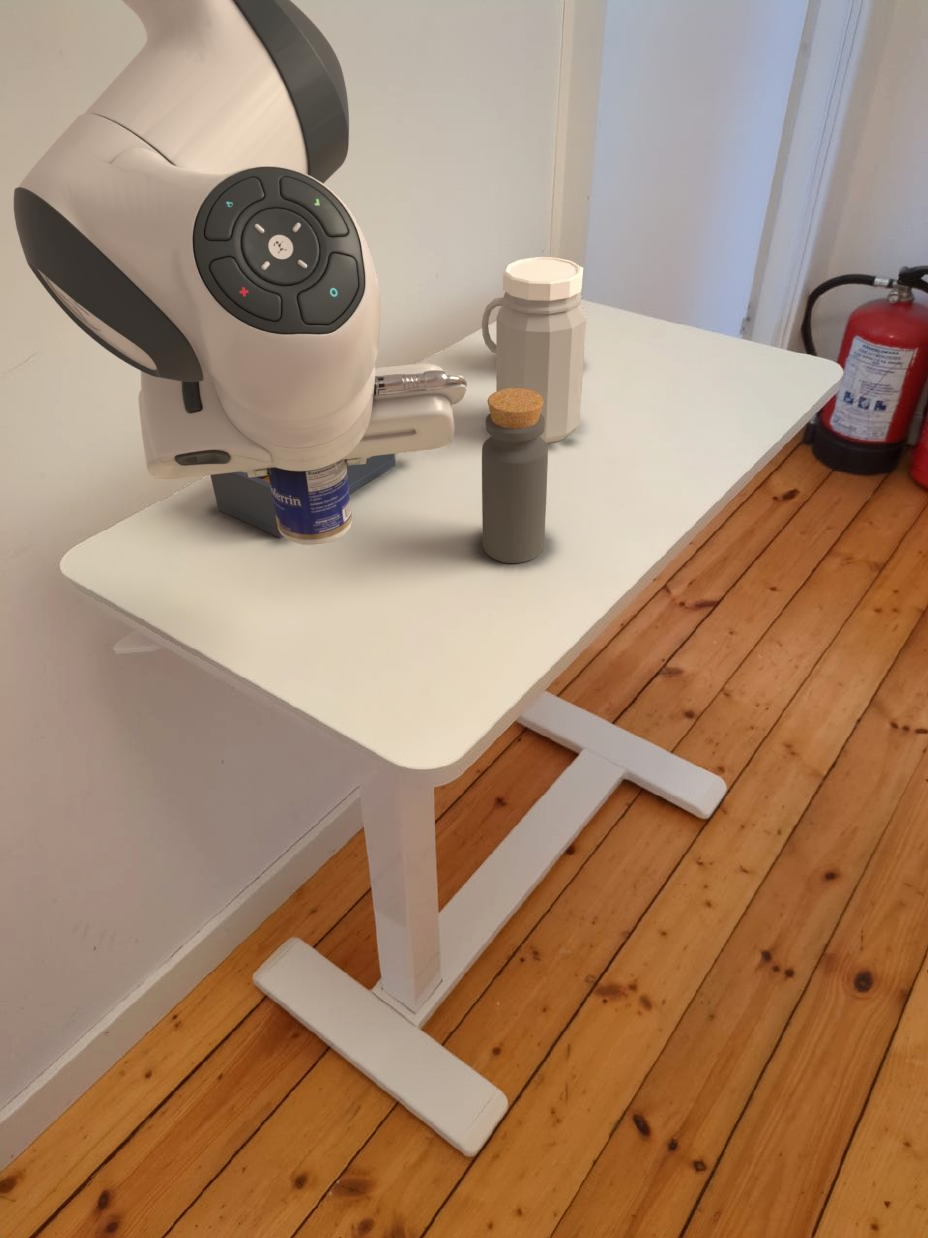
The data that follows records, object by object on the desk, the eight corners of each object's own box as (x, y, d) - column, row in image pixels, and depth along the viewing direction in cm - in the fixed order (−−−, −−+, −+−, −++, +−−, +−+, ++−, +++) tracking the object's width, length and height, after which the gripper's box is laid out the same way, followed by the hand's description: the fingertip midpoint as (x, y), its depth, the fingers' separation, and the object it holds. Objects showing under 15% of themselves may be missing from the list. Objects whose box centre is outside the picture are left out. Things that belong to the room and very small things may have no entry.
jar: (532, 456, 99) (537, 291, 87) (479, 424, 105) (477, 266, 94) (598, 430, 103) (610, 270, 92) (543, 401, 109) (548, 248, 98)
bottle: (521, 571, 82) (524, 421, 72) (470, 550, 85) (467, 402, 75) (556, 542, 85) (563, 395, 76) (505, 522, 88) (507, 378, 79)
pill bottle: (264, 525, 69) (242, 404, 63) (326, 499, 72) (311, 382, 66) (304, 557, 65) (285, 433, 59) (368, 529, 68) (356, 408, 62)
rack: (280, 538, 87) (271, 489, 84) (217, 510, 91) (207, 462, 88) (395, 465, 98) (392, 419, 94) (334, 443, 102) (329, 398, 99)
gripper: (463, 322, 54) (437, 404, 68) (111, 355, 51) (159, 434, 64) (480, 422, 53) (451, 485, 67) (125, 462, 50) (170, 519, 64)
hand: (305, 460), depth 66 cm, fingers closed on pill bottle, 6 cm apart
